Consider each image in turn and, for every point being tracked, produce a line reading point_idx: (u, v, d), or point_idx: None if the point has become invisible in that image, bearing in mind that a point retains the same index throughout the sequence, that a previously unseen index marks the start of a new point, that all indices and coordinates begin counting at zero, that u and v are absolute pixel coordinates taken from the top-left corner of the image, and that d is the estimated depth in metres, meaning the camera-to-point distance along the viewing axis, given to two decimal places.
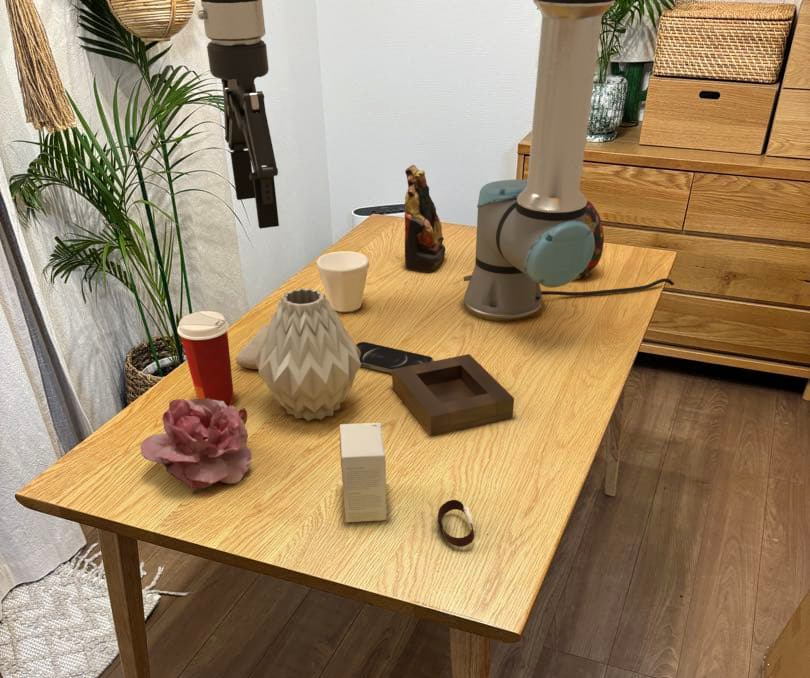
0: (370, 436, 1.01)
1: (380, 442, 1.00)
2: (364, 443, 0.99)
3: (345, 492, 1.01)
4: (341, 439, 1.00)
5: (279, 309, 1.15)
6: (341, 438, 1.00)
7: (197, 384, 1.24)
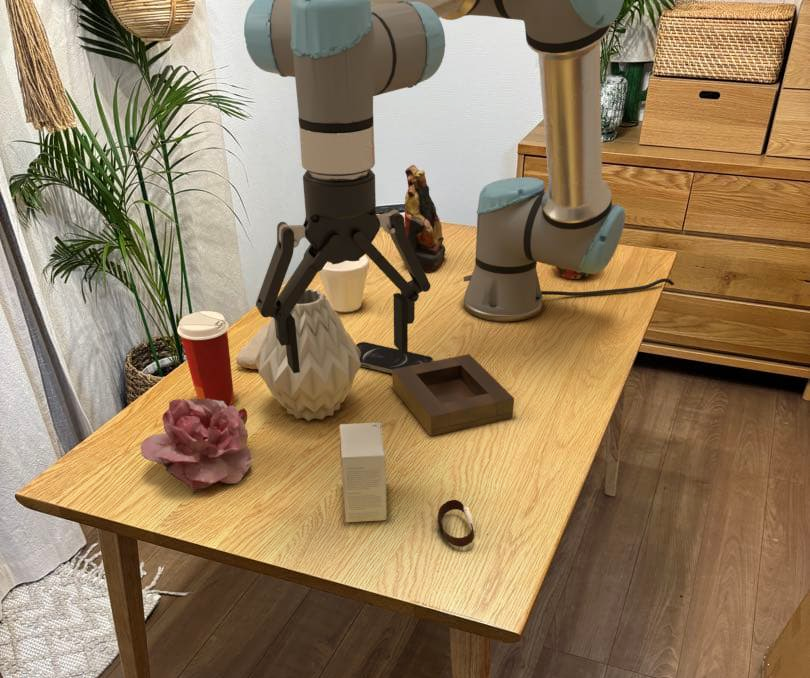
0: (370, 436, 1.01)
1: (380, 441, 1.00)
2: (364, 443, 0.99)
3: (345, 492, 1.01)
4: (341, 439, 1.00)
5: None
6: (341, 438, 1.00)
7: (197, 384, 1.24)
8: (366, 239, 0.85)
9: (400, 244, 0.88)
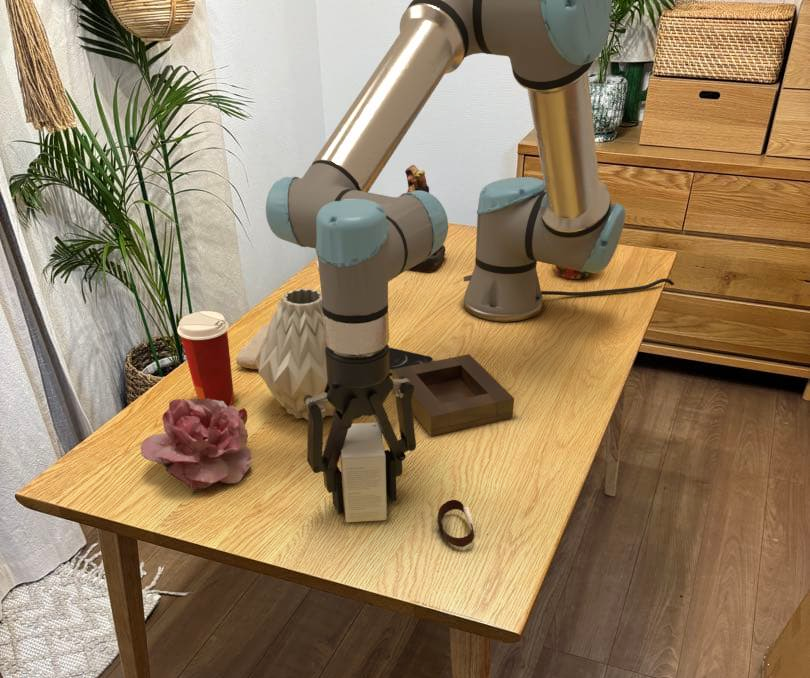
0: (370, 436, 1.01)
1: (380, 441, 1.00)
2: (364, 443, 0.99)
3: (345, 492, 1.01)
4: None
5: (279, 309, 1.15)
6: None
7: (197, 384, 1.24)
8: (380, 401, 0.96)
9: (403, 408, 0.98)
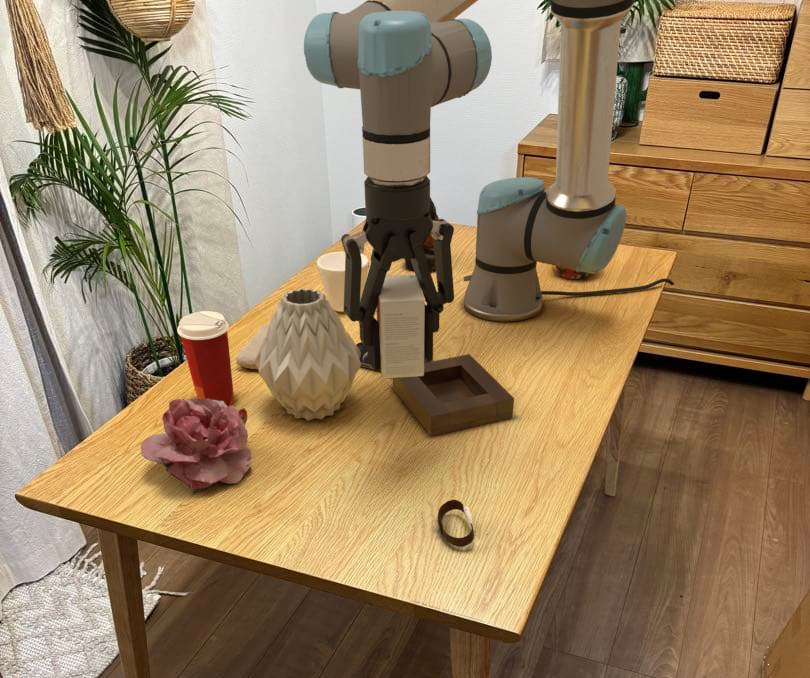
0: (408, 285, 0.98)
1: (418, 289, 0.97)
2: (402, 290, 0.97)
3: (382, 342, 0.98)
4: None
5: (279, 309, 1.15)
6: None
7: (197, 384, 1.24)
8: (419, 241, 0.93)
9: (443, 252, 0.96)
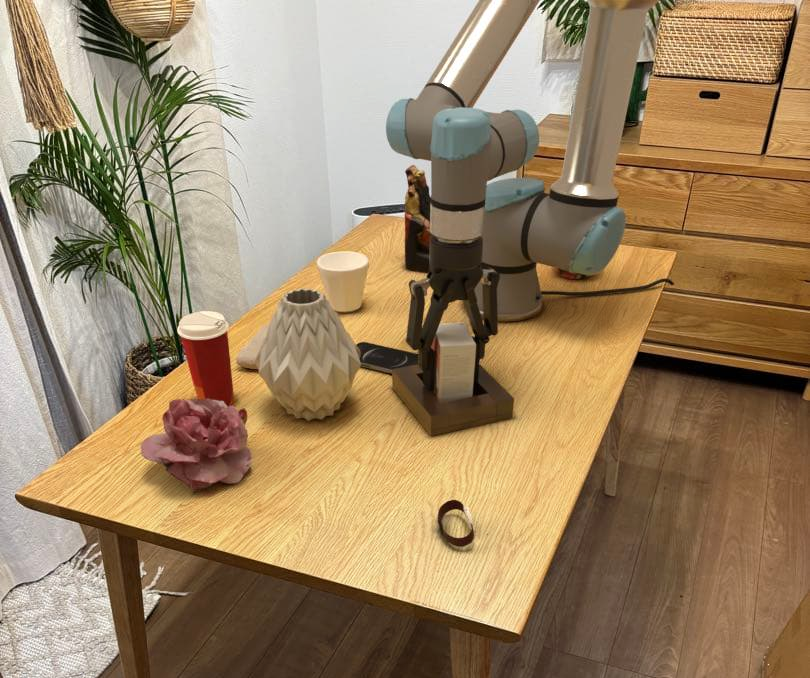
0: (460, 331, 1.20)
1: (469, 335, 1.19)
2: (456, 336, 1.19)
3: (440, 378, 1.20)
4: (436, 334, 1.20)
5: (279, 309, 1.15)
6: (436, 333, 1.20)
7: (197, 384, 1.24)
8: (472, 286, 1.14)
9: (490, 294, 1.17)
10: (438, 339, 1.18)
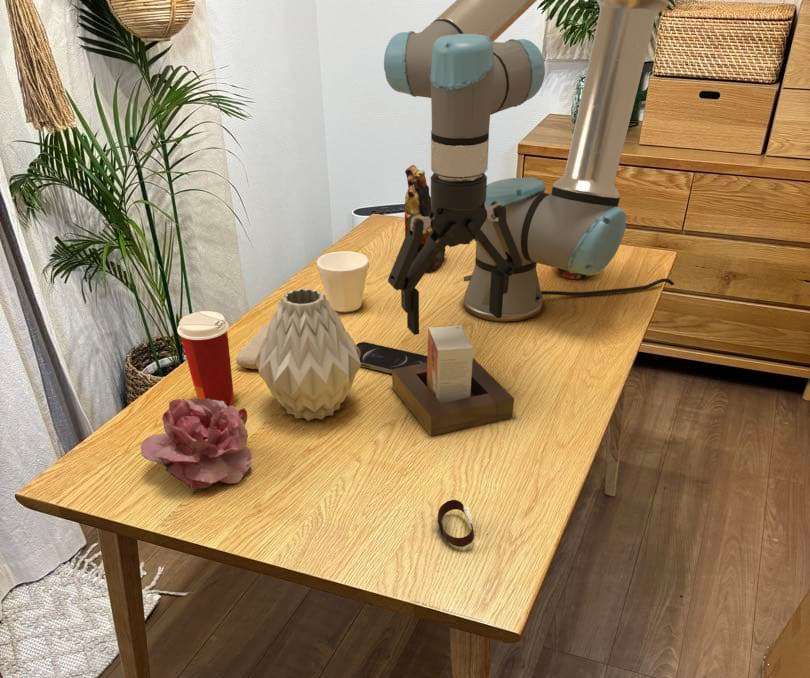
0: (457, 335, 1.20)
1: (466, 338, 1.20)
2: (453, 339, 1.19)
3: (438, 382, 1.20)
4: (433, 338, 1.20)
5: (279, 309, 1.15)
6: (433, 337, 1.20)
7: (197, 384, 1.24)
8: (477, 226, 1.09)
9: (501, 230, 1.11)
10: (435, 343, 1.18)
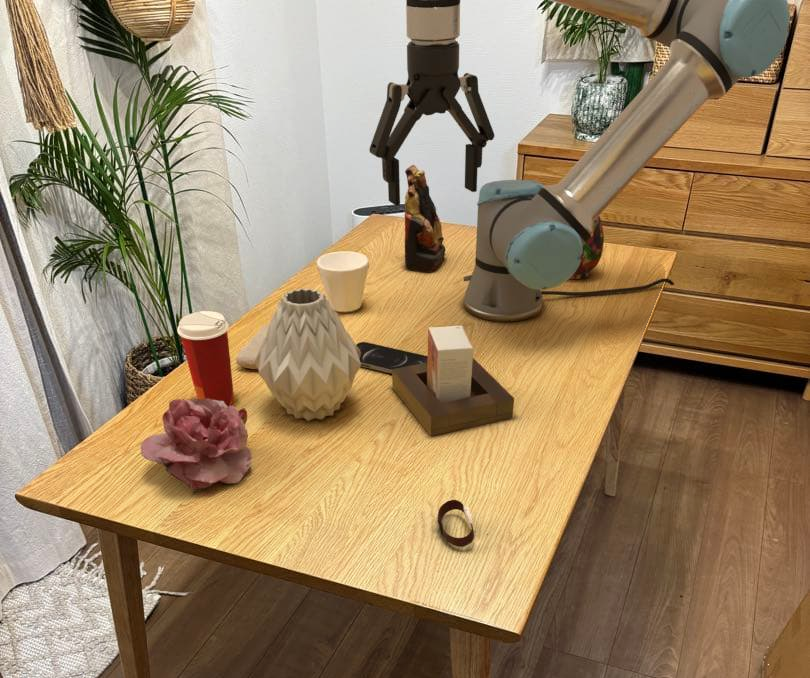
0: (457, 335, 1.20)
1: (466, 338, 1.20)
2: (453, 339, 1.19)
3: (438, 382, 1.20)
4: (433, 338, 1.20)
5: (279, 309, 1.15)
6: (433, 337, 1.20)
7: (197, 384, 1.24)
8: (451, 94, 1.16)
9: (474, 100, 1.19)
10: (435, 343, 1.18)
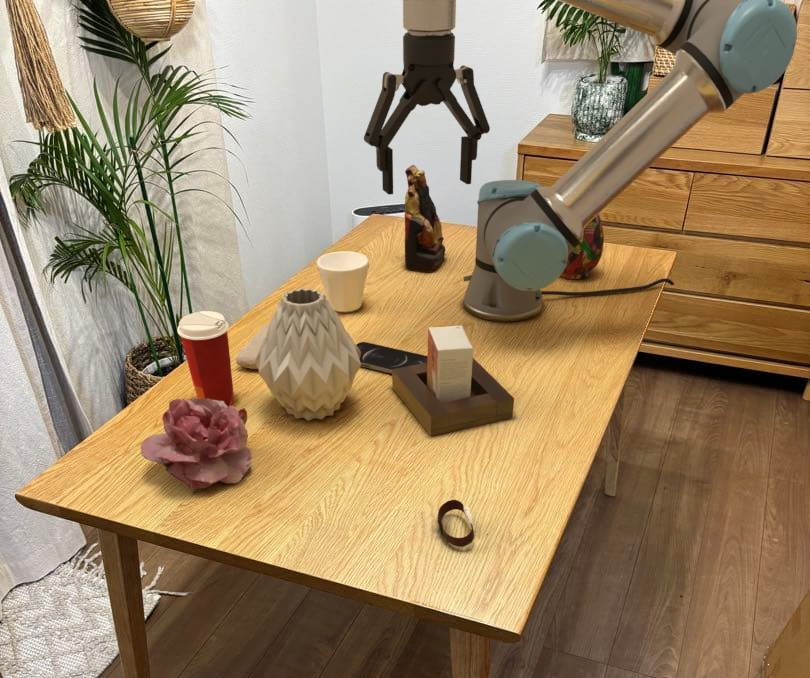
0: (457, 335, 1.20)
1: (466, 338, 1.20)
2: (453, 339, 1.19)
3: (438, 382, 1.20)
4: (433, 338, 1.20)
5: (279, 309, 1.15)
6: (433, 337, 1.20)
7: (197, 384, 1.24)
8: (446, 86, 1.17)
9: (469, 92, 1.20)
10: (435, 343, 1.18)
